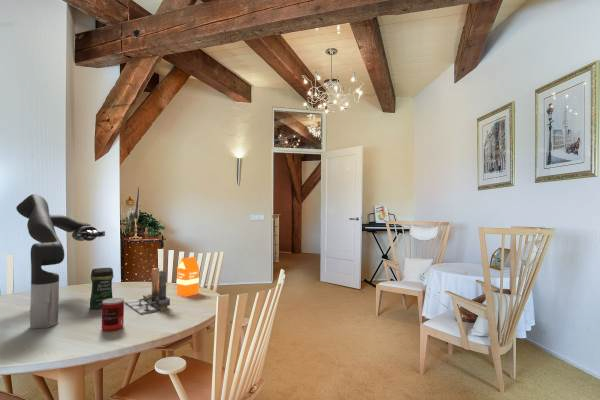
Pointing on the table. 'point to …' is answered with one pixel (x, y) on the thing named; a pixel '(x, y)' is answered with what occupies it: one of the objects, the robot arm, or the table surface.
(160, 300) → the grey metal fixture
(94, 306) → the coffee jar
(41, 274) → the robot arm
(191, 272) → the orange juice
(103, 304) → the canned food
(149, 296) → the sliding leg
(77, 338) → the table surface
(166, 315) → the table surface
